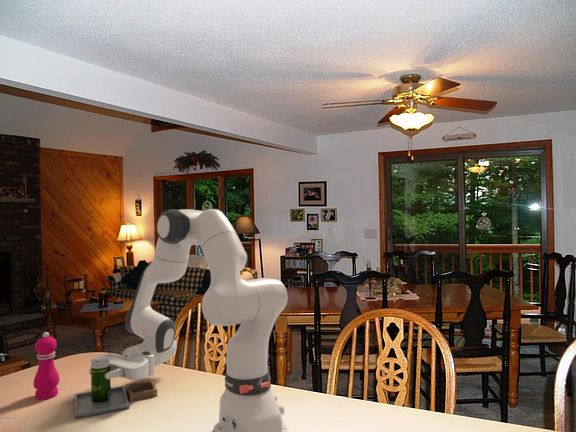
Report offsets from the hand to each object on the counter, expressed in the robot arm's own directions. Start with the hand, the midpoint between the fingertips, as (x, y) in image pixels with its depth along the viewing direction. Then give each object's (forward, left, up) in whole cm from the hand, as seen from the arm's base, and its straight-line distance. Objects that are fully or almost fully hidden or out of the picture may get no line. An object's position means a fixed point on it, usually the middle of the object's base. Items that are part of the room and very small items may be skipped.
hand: (98, 374), depth 132 cm
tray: (0, -1, -9) cm, 9 cm away
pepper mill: (+14, +14, -9) cm, 22 cm away
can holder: (+2, -13, -9) cm, 16 cm away
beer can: (+1, -1, -9) cm, 9 cm away
